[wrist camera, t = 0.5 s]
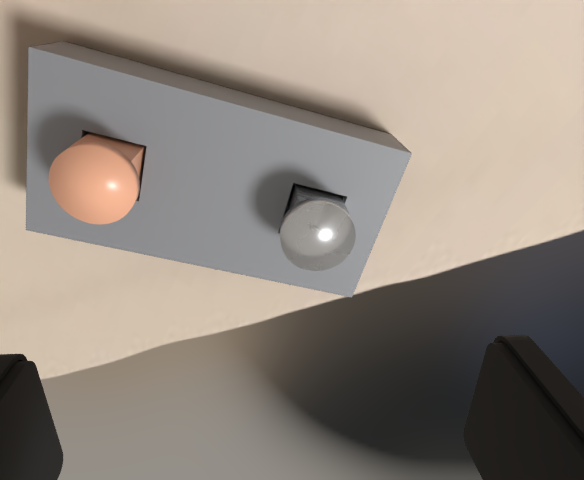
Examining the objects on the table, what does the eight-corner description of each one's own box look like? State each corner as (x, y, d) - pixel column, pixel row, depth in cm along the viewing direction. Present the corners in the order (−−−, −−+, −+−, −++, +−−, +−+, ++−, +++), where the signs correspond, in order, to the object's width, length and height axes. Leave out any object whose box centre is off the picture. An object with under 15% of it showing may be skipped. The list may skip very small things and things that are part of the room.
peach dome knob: (85, 115, 33) (50, 136, 28) (159, 134, 34) (140, 158, 29) (80, 182, 35) (47, 214, 30) (150, 199, 36) (130, 232, 31)
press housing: (64, 41, 34) (28, 46, 29) (391, 134, 39) (411, 153, 34) (56, 201, 40) (25, 230, 35) (341, 264, 45) (351, 297, 40)
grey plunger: (287, 167, 36) (292, 195, 30) (350, 183, 37) (366, 213, 32) (270, 226, 38) (271, 262, 33) (330, 240, 39) (341, 277, 34)
